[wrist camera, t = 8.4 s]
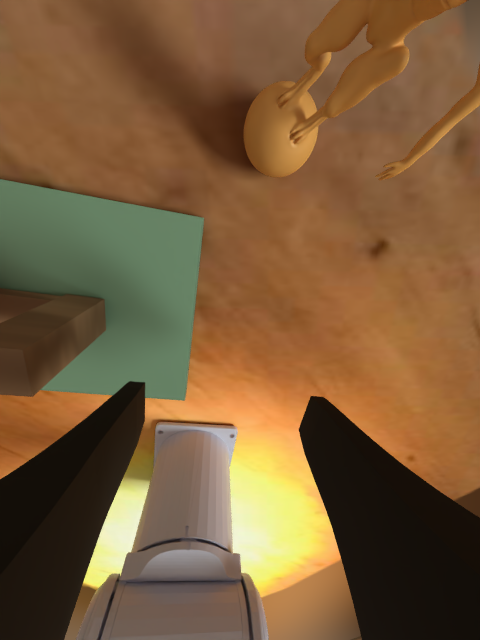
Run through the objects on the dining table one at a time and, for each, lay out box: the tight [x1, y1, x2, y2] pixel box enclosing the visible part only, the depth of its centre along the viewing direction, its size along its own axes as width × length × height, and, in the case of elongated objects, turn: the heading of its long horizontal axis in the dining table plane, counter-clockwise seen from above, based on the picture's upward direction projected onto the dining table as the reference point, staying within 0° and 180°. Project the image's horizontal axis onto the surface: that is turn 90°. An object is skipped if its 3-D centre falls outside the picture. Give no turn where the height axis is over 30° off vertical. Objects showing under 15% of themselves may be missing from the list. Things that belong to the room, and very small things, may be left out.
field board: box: [0, 179, 204, 400], centre depth 16 cm, size 15×21×1 cm
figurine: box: [244, 0, 480, 180], centre depth 8 cm, size 8×6×12 cm
